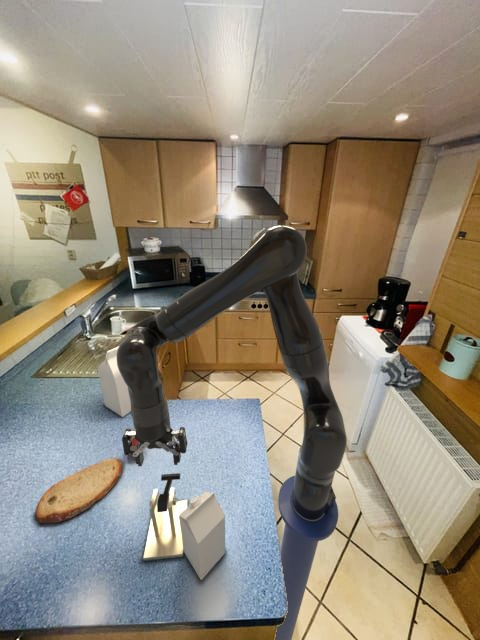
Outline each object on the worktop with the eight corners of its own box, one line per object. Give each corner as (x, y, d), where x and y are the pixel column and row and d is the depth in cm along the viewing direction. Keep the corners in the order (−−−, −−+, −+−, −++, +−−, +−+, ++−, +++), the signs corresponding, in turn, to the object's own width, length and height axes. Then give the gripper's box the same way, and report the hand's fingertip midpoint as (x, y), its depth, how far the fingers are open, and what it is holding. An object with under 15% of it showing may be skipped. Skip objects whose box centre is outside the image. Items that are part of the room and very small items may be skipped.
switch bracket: (154, 505, 69) (148, 474, 64) (187, 502, 70) (184, 471, 65) (143, 560, 58) (135, 529, 53) (182, 556, 59) (178, 525, 54)
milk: (122, 417, 97) (109, 360, 87) (104, 405, 103) (90, 351, 92) (147, 399, 107) (138, 346, 96) (130, 389, 112) (120, 338, 101)
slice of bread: (127, 461, 80) (125, 453, 79) (96, 526, 64) (93, 518, 62) (72, 459, 81) (69, 451, 79) (27, 523, 64) (22, 515, 63)
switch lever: (162, 480, 70) (162, 471, 70) (180, 478, 70) (180, 470, 70) (151, 513, 58) (150, 502, 58) (173, 511, 58) (172, 500, 58)
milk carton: (225, 553, 60) (225, 504, 52) (201, 581, 55) (196, 532, 47) (207, 527, 64) (204, 480, 57) (183, 551, 60) (176, 503, 52)
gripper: (185, 400, 59) (190, 448, 65) (123, 401, 58) (134, 450, 65) (180, 425, 52) (185, 476, 59) (110, 427, 51) (123, 478, 58)
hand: (159, 462), depth 62 cm, fingers open, 8 cm apart
